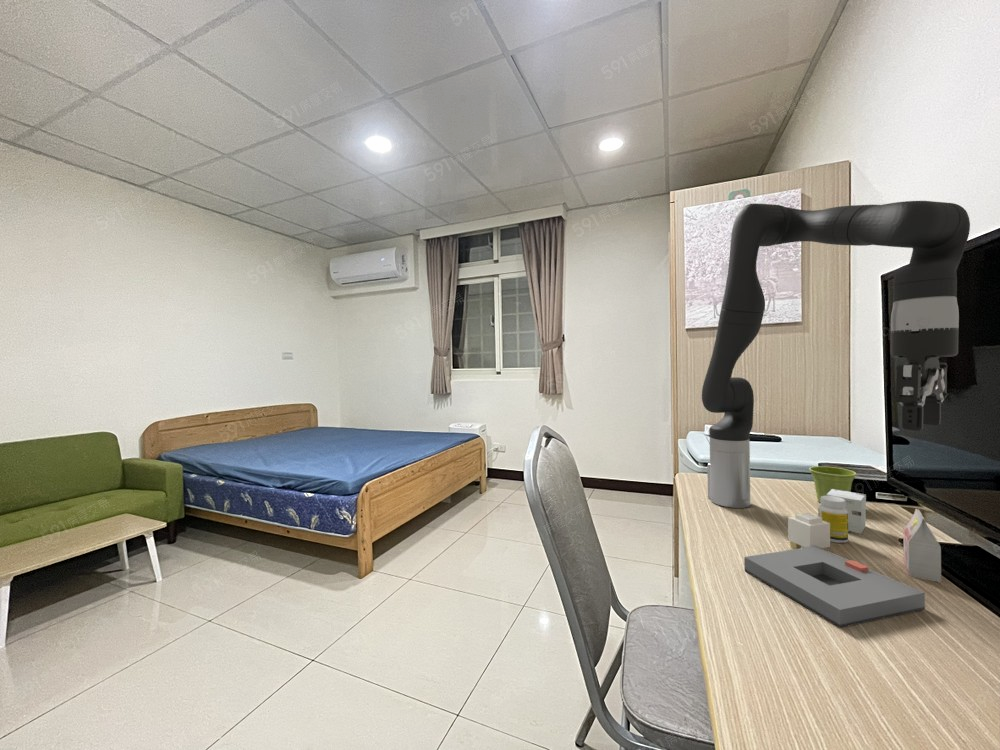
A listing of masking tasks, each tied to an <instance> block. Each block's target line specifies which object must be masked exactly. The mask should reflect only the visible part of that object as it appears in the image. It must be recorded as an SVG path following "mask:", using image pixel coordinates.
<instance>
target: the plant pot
mask: <svg viewBox="0 0 1000 750" xmlns="http://www.w3.org/2000/svg"><path fill="white" fill-rule="evenodd" d="M808 470H809V471H810V473H811V476H812V477H813V484H814V488H815V492H816V493H815V494H816V498H817V499H816V500H817V502H818V501H819V503H820V497H821V496H826V495H827V493H828V492H830V490H831V489H835V490H841V491H848V492H852V491H851V489H852V485H853V481H854V479H855V476H857V472H855V471H854V470H850V469H847V468H840V467H832V466H823V465H822V466H819V465H818V466H817V465H816V466H810V467H809V468H808Z"/></svg>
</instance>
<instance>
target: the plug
mask: <svg viewBox="0 0 1000 750" xmlns="http://www.w3.org/2000/svg"><path fill="white" fill-rule="evenodd" d="M787 529H788V530H787V535H788V537H787V539H788V541H790V542H789V543H790V548H791V549H792V550H793V549H799V548H806V547H812V546H817V547H820V548H822V549H825V548H830V547H831V541H830V523H828V522H825V521H823V520H822V518H821V517H818V516H817V515H815V514H812V513H809V512H806V513H805V512H804V513H797V514H795V515H794V516H790V517H787Z"/></svg>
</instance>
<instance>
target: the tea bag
mask: <svg viewBox="0 0 1000 750" xmlns="http://www.w3.org/2000/svg"><path fill="white" fill-rule="evenodd" d="M902 531H903V533H902V534H903V535H902V536H903V537H902V538H903V563H904V565H905V568H906V571H907V573H908V576H909V577H914V578H917V579H922V578H923V579H922V580H926V579H929V580H928V581H931V580H932V582H935V581H938V582H937V583H940V582H941V583H942V547H941V545H940V543H939V542H938V540H937V538H936V537H935V535H934V534H933V531H932V530H931V529H930V527H929V526H928V524H927V522H926V520H925V517H924V515H923V514H922V512H921V510H920V509H917V508H915V510H914V512H913V514H912V517H911V518H910V519H909V520H908V522H907V523H906V524H905V526H904V527H903V528H902Z"/></svg>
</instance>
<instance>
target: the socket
mask: <svg viewBox="0 0 1000 750" xmlns="http://www.w3.org/2000/svg"><path fill="white" fill-rule="evenodd" d="M743 558H744V559H743V560H744V561H743V562H744V564H743V565H744V572H746V573H748V574H749V575H751V576H752V577H754V578H756V579H757V580H759V581H761V582H762V583H765V584H766V585H767V586H769V587H771V588H773V589H775V590H776V591H778V592H779V593H781V594H783V595H784V596H786V597H787V598H790V599H791V600H793V602H796V603H798V604H799V605H801V606H803V607H805V608H806V609H808V610H809V609H810V610H809V611H811V610H812V611H811V612H812V613H815V614H816V615H818V616H820V618H821V617H822V618H823V619H825V620H827V621H828V622H830V623H831V624H832V625H835V626H836V627H838V628H845V627H846V628H847V627H850V626H855V625H859V624H864V623H869V622H874V621H878V620H883V619H887V618H888V619H889V618H892V617H897V616H901V615H906V614H911V613H914V612H919V611H920V612H921V611H925V610H926V599H925V597H926V592H924V591H923V590H922V591H921V590H919V589H917V588H915V587H913V586H910V585H908V584H906V583H903V582H901V581H898V580H896V579H893V578H892V577H889V576H886V575H885V574H882V573H880V572H877V571H875V570H873V569H870V568H869V566H867V565H865V564H862V563H860V562H858V561H855V560H854V559H853V560H852V559H851V560H849V559H848V558H845V557H843V556H840V555H838V554H835V553H834V552H831V551H829V550H826V549H825V548H820V547H817V546H812V547H806V548H805V547H801V548H799V549H793V548H792V549H788V550H782V551H781V550H780V551H775V552H767V553H761V554H754V555H748V556H744V557H743Z"/></svg>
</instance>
